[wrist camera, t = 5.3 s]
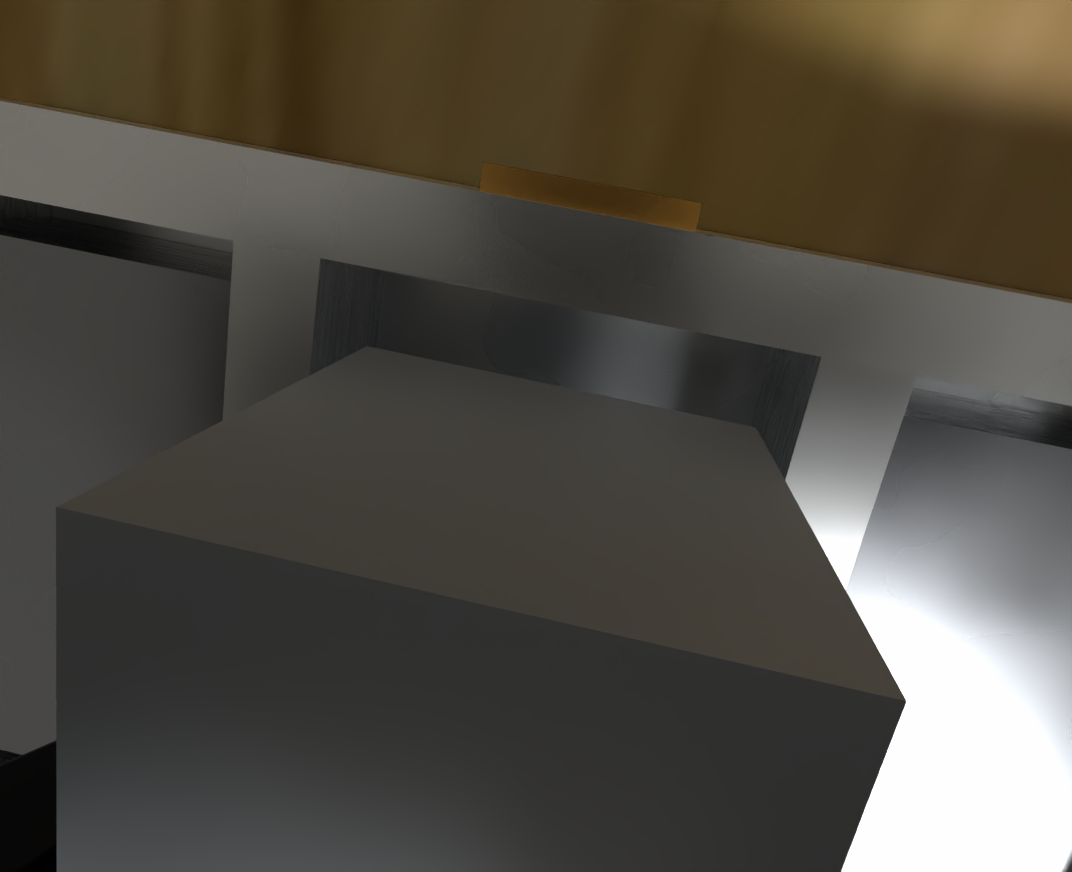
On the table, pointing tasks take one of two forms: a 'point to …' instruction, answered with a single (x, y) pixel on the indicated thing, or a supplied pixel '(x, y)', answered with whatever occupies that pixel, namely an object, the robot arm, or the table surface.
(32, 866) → the robot arm
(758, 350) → the rack
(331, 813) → the grey upright box
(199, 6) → the table surface
